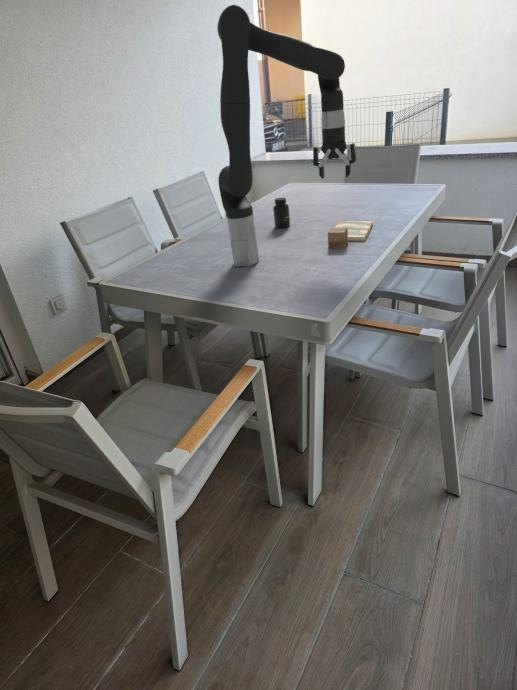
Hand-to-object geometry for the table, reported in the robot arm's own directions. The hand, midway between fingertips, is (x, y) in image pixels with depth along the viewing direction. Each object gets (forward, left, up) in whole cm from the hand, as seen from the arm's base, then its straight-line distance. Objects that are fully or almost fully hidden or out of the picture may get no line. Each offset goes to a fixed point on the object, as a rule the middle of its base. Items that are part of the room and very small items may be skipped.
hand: (335, 177), depth 153 cm
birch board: (+14, -2, -24) cm, 28 cm away
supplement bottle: (+24, +30, -25) cm, 46 cm away
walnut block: (-1, 0, -24) cm, 24 cm away
